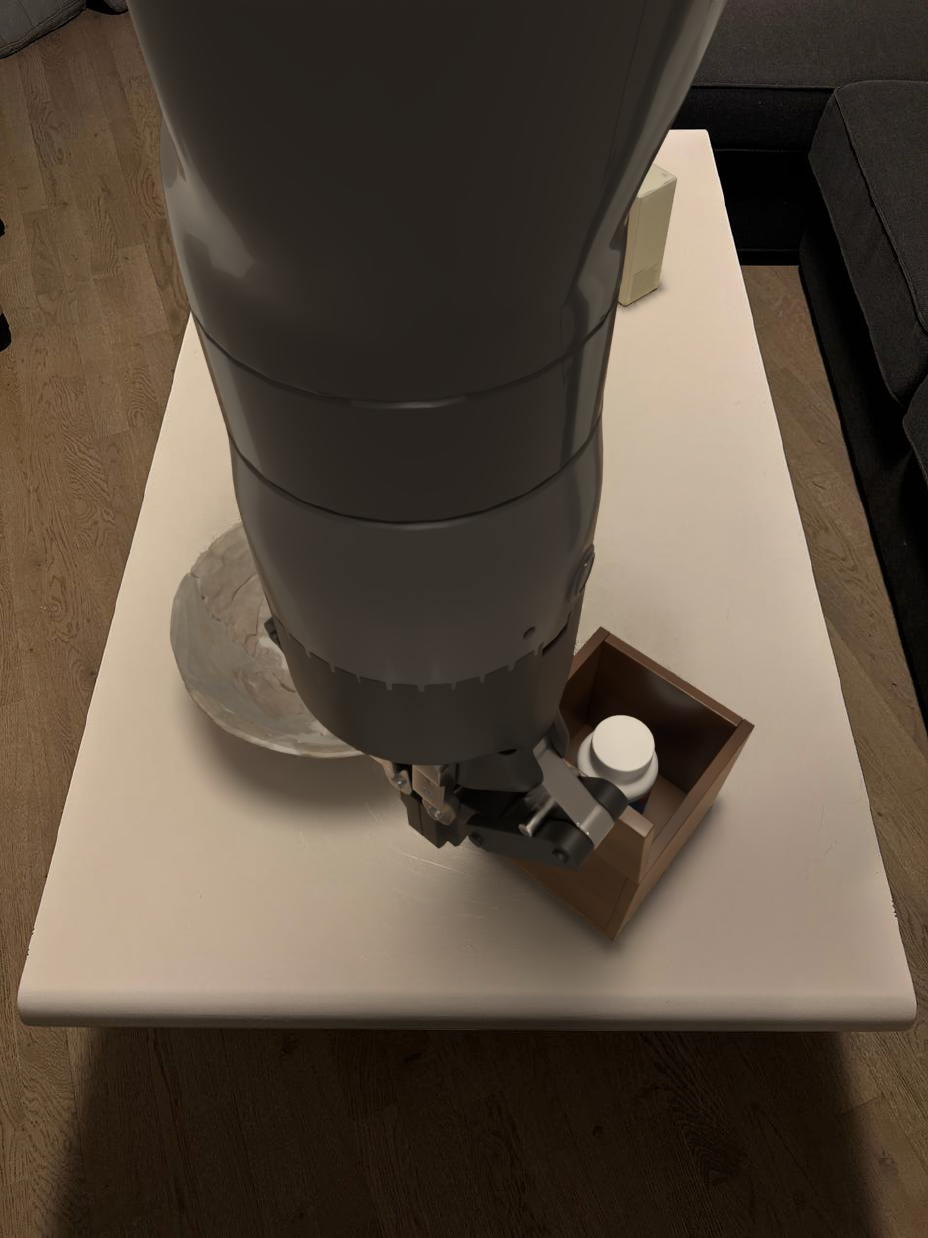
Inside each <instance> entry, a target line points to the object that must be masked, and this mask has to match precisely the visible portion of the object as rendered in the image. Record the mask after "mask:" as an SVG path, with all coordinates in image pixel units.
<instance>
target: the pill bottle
mask: <svg viewBox="0 0 928 1238" xmlns="http://www.w3.org/2000/svg"><path fill="white" fill-rule="evenodd" d="M654 748H655V744H654V739H653V736H652V734H651V732H650V730H649V729H648V728H647V726H646V725H645V724H643V723H642V722H641V721H639V720H637V719H635V718H633V717H629V716H624V715H622V716H621V715H618V716H612V717H609V718H607V719H605V720H603V721H602V722H601V723H600V724H599V725H598V726H597V727H596V729H595V731H594V732H592V733H591V734H590V735H588V736H587V737H586V739H585V740H584V741H583V742H582V744H581V746H580V748H579V751H578V754H577V759H576V764H575V767H576V768H578V769H579V770H580V771H582V772H583V773H585V774H586V775H587V776H589V777H599V778H603V779H606V780H608V781H610V782H611V783H613V784H614V785H616V786H617V787H618V788H619V789H620V790H621V791H622V792H623V793H624V794H625V796H626V797H627V799H628V802H629V806H631V807H632V808H633V809H635V810H636V811H638V812H639V813H640V814H643V812H644V809H645V806H646V804H647V801H648V799H649V796H650V793H651V791H652V788H653V786H654V783H655V781H656V777H657V773H658V759H657V755H656V752H655V750H654Z"/></svg>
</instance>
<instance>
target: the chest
mask: <svg viewBox="0 0 928 1238" xmlns="http://www.w3.org/2000/svg"><path fill="white" fill-rule="evenodd" d="M559 711H560V714H561V716H562V719H563V721H564V723H565V725H566V727H567V730H568V733H569V747H568V751H567V753H566V755H565V756H564V759H565V760H567V761H568V762H569V763H571V764H572V765H574V766H575V764H576V759H577V754H578V751H579V748H580V746H581V744H582V742H583V741H584V740H585V739H586V737H587V736H588V735H590V734H591V733H592V732H594V731H595V729H596V727H597V726H598V725H599V724H600V723H601V722H602V721H603V720H605V719H607V718H609V717H612V716H618V715H621V716H622V715H624V716H629V717H633V718H635V719H637V720H639V721H641V722H642V723H643V724H645V725H646V726H647V728H648V729H649V730H650V732H651V734H652V736H653V739H654V744H655V748H654V750H655V752H656V755H657V759H658V773H657V777H656V781H655V783H654V786H653V788H652V791H651V793H650V796H649V799H648V801H647V804H646V806H645V809H644V812H643V814H642V815H643V816H644V817H646V818H647V819H649V820H650V821H651V822H653V823H654V824H655V828H654V834H653V839H652V844H651V849H650V855H649V860H648V865H647V870H646V875H645V876H644V878H643V879H642V880H641V882H640V883H639V884H636V883H635V882H633V881H632V880H631V879H629V878H628V877H627V876H625V875H624V874H623V873H621V872H620V871H619V870H617V869H616V868H615V867H613V866H612V865H611V864H609V863H608V862H607V861H605V860H604V859H603V858H601V857H600V856H599V855H597V854H596V853H595V852H592V853H591V854H590V856H589V857H588V858H587V860H586V861H585V862H584V863H583V865H582V866H581V867H580V869H579V870H578V871H571V870H567V869H562V868H558V867H553V866H549V865H545V864H540V863H536V862H532V861H527V860H523V859H519V858H514V857H510V856H505V855H503V856H504V857H505V858H507V859H508V860H509V861H511V862H512V863H513V864H515V865H516V866H517V867H518V868H519V869H521V870H522V871H523V872H525V873H526V874H527V875H528V876H529V877H531V878H532V879H533V880H535V881H536V882H537V883H538V884H540V885H541V886H542V887H544V888H545V889H546V890H547V891H548V892H550V893H551V894H552V895H554V896H555V897H556V898H558V899H559V900H560V901H561V902H563V903H564V905H567V906H568V907H569V908H570V909H572V911H574V912H575V913H577V914H578V915H579V916H580V917H582V918H583V919H584V920H586V921H587V922H588V923H589V924H591V925H592V926H593V927H595V929H597V930H598V931H600V932H601V933H602V934H603V935H604V936H606V937H607V938H608V939H610V940H611V941H613V942H614V941H615V940H616V939H617V938H618V936H619V935H620V933H621V932H622V931H623V929H624V928H625V927H626V925H627V924H628V923H629V921H630V920H631V918H632V917H633V916H634V914H635V913H636V911H637V910H638V909H639V907H640V906H641V905H642V903H643V902H644V901H645V899H646V897H647V896H648V895H649V893H650V892H651V891H652V889H653V888H654V886H655V885H656V884H657V882H658V881H659V880H660V878H661V877H662V875H663V874H664V872H666V870H667V869H668V867H669V866H670V864H671V863H672V862H673V860H674V858H675V857H676V856H677V855H678V853H679V852H680V851H681V849H682V848H683V846H684V845H685V844H686V842H687V840H688V839H689V838H690V837H691V835H692V834H693V833H694V831H695V829H697V827H698V825H699V824H700V823H701V821H702V820H703V819H704V817H705V816H706V814H707V813H708V812H709V810H710V809H711V808H712V806H713V805H714V803H715V801H716V799H717V797H718V796H719V793H720V791H721V790H722V788H723V786H724V784H725V782H726V781H727V779H728V777H729V775H730V773H731V771H732V769H733V768H734V766H735V764H736V762H737V760H738V758H739V756H740V755H741V753H742V751H743V749H744V747H745V745H746V743H747V742H748V740H749V738H750V736H751V734H752V732H753V730H754V729H755V727H756V726H755V724H753V722H750V721H749V720H747V719H745V718H743V717H742V716H741V715H739V714H738V713H737V712H734V711H733V710H731V709H730V708H729V707H727V706H725V705H723V704H722V703H720V702H719V701H717V700H716V699H714V698H713V697H711V696H710V695H708V694H706V693H705V692H703V691H702V690H700V689H699V688H697V687H696V686H694V685H692V683H689V682H688V681H687V680H684V679H683V678H682V677H680V676H679V675H677V674H675V673H674V672H672V671H671V670H669V669H667V668H666V667H665V666H664V665H662V664H660V663H658V662H657V661H655V660H654V659H652V658H650V657H649V656H648V655H646V654H644V653H643V652H641V651H640V650H639V649H637V648H635V647H633V646H632V645H631V644H629V643H628V642H626V641H624V640H623V639H621V638H620V637H619V636H617V635H615V634H614V633H611V632H610V631H609V630H608V629H606V628H604V627H603V626H602V625H600V626H599V627H598V628H597V629H596V630H595V632H594V633H593V634H592V635H591V636H590V637H589V638H588V639H587V640H586V642H584V644H583V645H582V646H581V647H580V648H579V650H578V651H577V652H576V653H574V655H573V661H572V665H571V669H570V673H569V676H568V680H567V683H566V686H565V689H564V692H563V695H562V697H561V700H560V703H559Z"/></svg>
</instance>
